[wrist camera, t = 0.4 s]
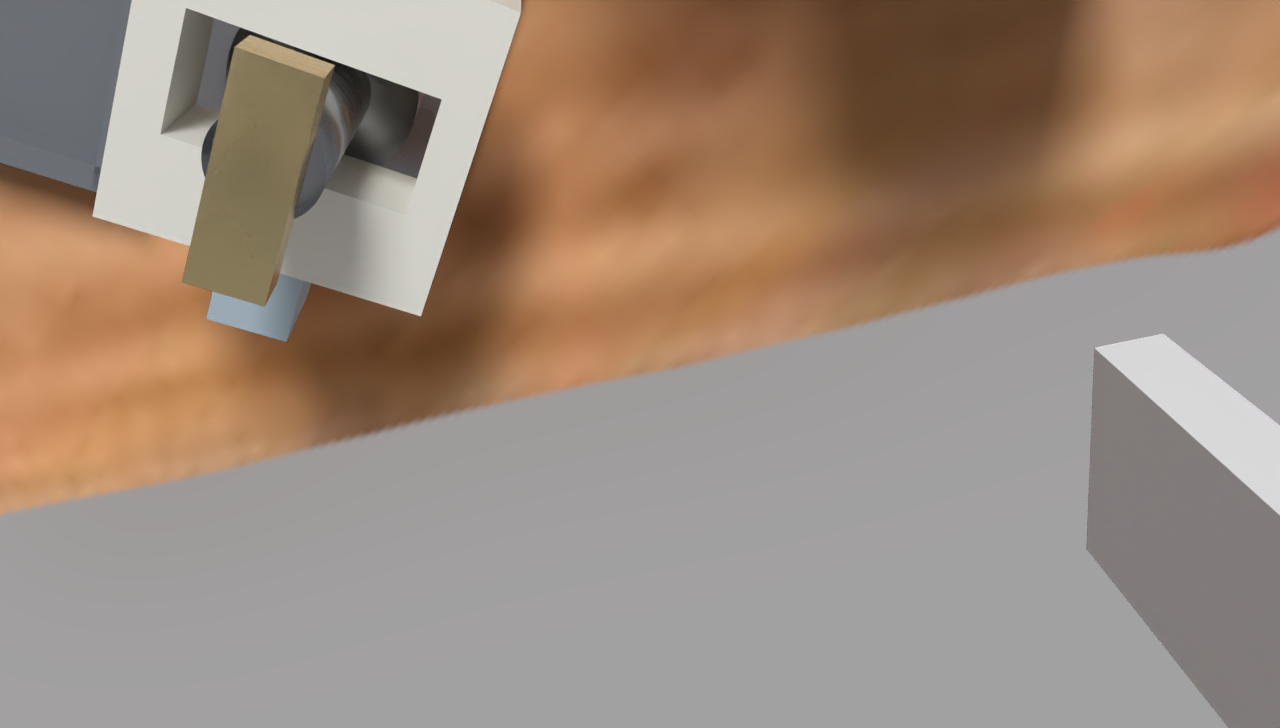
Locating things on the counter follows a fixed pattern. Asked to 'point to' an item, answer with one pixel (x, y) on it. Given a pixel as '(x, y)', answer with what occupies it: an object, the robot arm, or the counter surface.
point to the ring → (358, 190)
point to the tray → (59, 84)
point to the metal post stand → (285, 150)
